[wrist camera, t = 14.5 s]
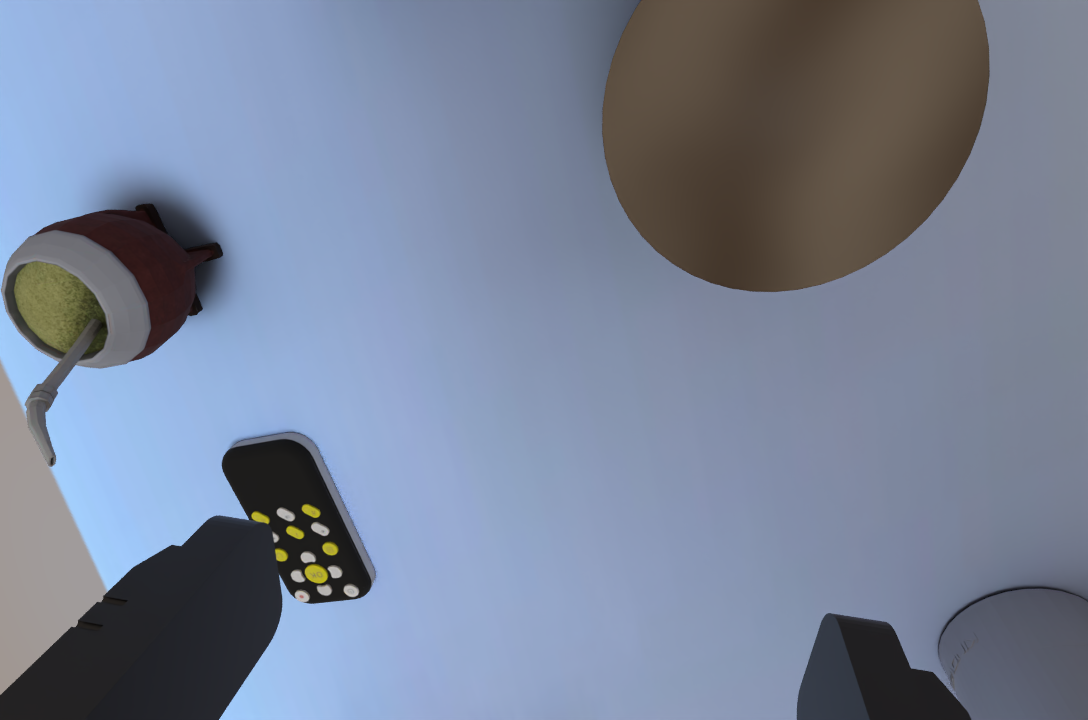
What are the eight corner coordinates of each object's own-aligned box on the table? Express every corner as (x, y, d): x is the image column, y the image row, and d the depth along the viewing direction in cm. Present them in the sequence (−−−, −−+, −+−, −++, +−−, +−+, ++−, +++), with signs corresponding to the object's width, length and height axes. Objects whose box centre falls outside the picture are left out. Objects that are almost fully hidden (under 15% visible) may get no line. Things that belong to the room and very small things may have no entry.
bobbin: (880, -40, 26) (1051, -100, 15) (823, 212, 30) (924, 305, 19) (627, -47, 27) (618, -107, 16) (607, 198, 31) (590, 278, 20)
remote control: (311, 424, 40) (296, 442, 38) (384, 580, 45) (374, 602, 43) (226, 439, 41) (207, 457, 40) (306, 589, 46) (292, 611, 45)
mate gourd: (88, 210, 35) (-251, 311, 22) (213, 178, 33) (-73, 268, 20) (153, 335, 38) (-111, 492, 25) (271, 312, 36) (56, 467, 23)
